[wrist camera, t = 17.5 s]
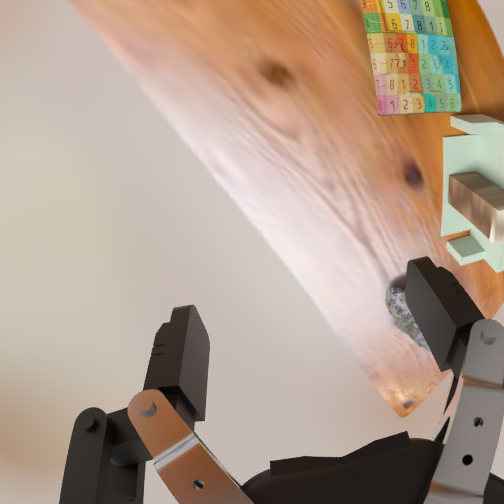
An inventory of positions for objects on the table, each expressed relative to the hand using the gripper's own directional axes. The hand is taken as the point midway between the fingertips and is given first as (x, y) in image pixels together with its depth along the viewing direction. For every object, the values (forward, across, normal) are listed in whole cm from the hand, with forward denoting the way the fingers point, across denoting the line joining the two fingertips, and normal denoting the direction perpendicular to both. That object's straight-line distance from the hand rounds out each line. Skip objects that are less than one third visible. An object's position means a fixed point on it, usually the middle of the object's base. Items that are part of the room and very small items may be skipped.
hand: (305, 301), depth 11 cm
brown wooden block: (+29, -28, +12) cm, 42 cm away
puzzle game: (+30, -20, -10) cm, 38 cm away
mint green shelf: (+30, -30, +12) cm, 44 cm away
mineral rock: (+30, -20, +33) cm, 49 cm away
